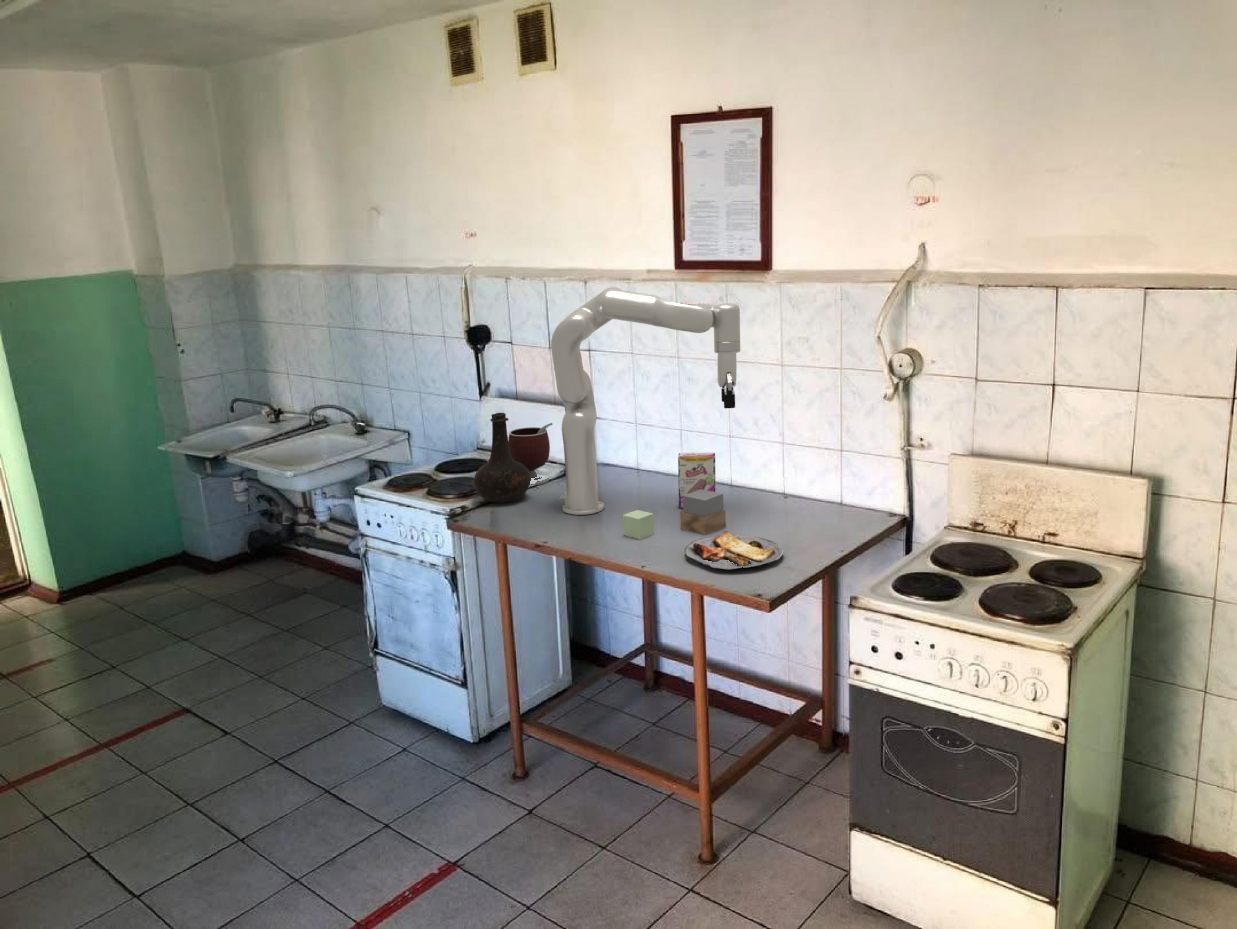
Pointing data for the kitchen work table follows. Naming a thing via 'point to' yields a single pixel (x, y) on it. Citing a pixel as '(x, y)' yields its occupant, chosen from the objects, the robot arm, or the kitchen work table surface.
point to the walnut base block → (703, 522)
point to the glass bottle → (501, 468)
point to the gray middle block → (703, 503)
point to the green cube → (638, 524)
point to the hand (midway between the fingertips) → (728, 404)
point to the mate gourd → (530, 448)
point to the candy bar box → (695, 473)
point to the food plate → (733, 550)
